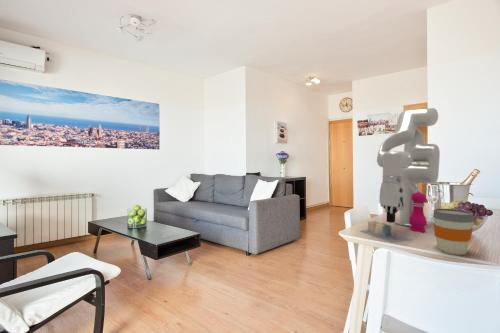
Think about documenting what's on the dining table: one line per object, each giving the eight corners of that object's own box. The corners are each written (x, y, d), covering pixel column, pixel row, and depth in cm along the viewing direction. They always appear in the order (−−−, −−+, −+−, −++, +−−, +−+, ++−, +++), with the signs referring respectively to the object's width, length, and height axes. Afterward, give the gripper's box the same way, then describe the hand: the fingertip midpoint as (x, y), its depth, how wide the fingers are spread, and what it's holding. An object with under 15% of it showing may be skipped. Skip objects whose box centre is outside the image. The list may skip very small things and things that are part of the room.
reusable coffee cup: (459, 258, 100) (461, 216, 99) (424, 247, 111) (426, 209, 110) (479, 253, 105) (481, 213, 104) (444, 243, 116) (445, 207, 116)
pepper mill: (420, 233, 131) (421, 190, 131) (405, 230, 138) (406, 188, 137) (429, 231, 135) (431, 189, 134) (414, 228, 141) (416, 188, 140)
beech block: (390, 235, 127) (375, 230, 135) (391, 225, 126) (375, 220, 135) (383, 236, 125) (367, 231, 133) (383, 226, 125) (368, 221, 133)
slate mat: (378, 229, 138) (378, 228, 138) (413, 240, 120) (413, 239, 120) (358, 231, 134) (358, 230, 134) (392, 243, 116) (392, 242, 116)
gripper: (413, 181, 118) (412, 225, 118) (384, 178, 132) (383, 217, 132) (400, 181, 115) (398, 226, 116) (372, 178, 129) (371, 219, 130)
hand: (390, 221), depth 124 cm, fingers closed
